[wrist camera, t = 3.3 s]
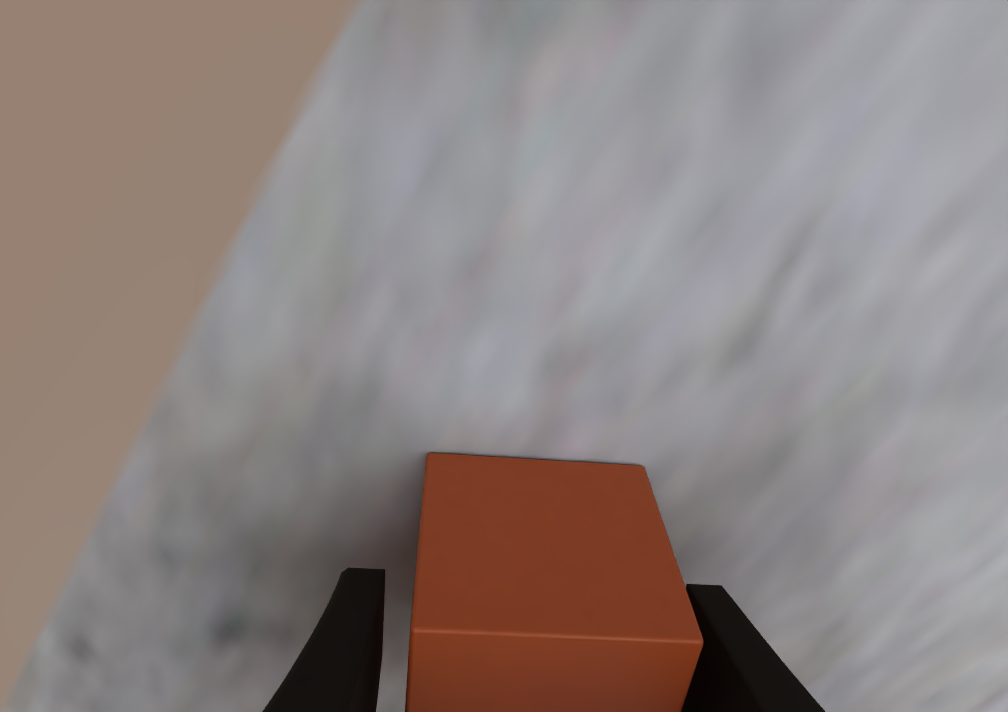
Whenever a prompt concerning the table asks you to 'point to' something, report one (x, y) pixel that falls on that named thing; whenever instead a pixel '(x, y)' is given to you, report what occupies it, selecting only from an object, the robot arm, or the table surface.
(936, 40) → the table surface
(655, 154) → the table surface
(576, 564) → the block
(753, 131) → the table surface
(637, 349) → the table surface
